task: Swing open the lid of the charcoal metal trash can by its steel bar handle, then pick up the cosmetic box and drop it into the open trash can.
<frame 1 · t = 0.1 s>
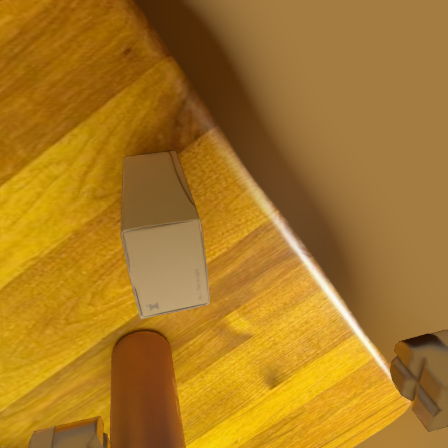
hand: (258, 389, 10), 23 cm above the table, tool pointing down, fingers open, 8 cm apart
beverage can: (141, 347, 40), on the table
cosmetic box: (153, 185, 32), on the table
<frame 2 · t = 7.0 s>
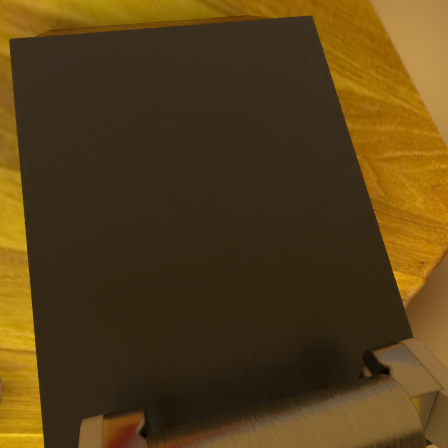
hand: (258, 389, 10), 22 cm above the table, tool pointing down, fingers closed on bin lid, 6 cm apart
bin lid: (218, 209, 12), point 18 cm above the table, hinge at 45.1°, touching gripper
trash can: (169, 147, 29), on the table
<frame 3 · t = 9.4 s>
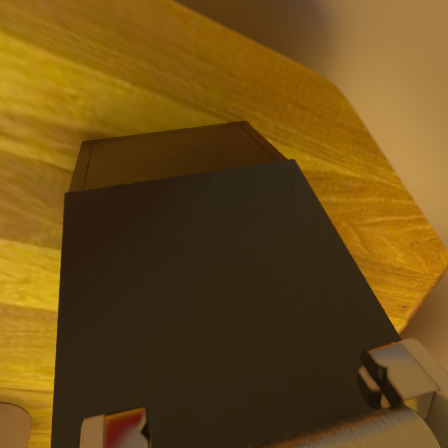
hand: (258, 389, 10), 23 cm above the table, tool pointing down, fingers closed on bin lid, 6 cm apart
bin lid: (223, 286, 14), point 19 cm above the table, hinge at 72.8°, touching gripper
trash can: (179, 224, 34), on the table
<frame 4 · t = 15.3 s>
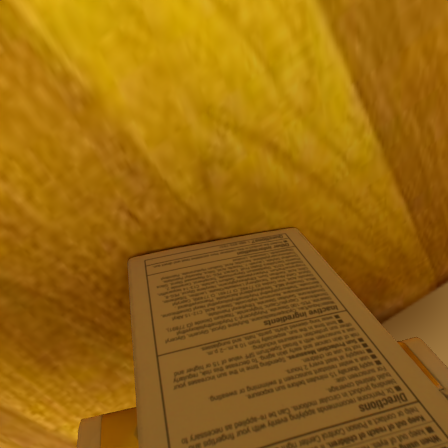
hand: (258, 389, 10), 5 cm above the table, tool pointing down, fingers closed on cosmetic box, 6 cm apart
cosmetic box: (221, 281, 14), on the table, touching gripper
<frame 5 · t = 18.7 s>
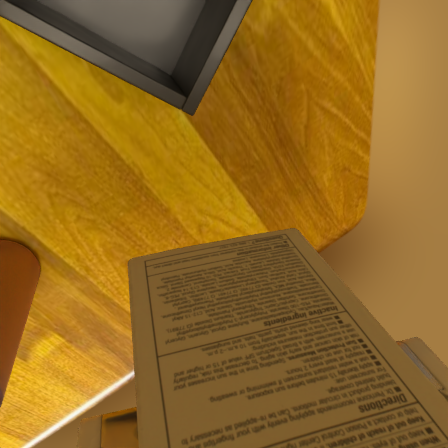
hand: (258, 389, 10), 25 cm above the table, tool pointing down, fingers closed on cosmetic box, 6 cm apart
beverage can: (5, 263, 34), on the table
cosmetic box: (221, 281, 14), point 21 cm above the table, touching gripper
when the fingers open (17 cm above the table, at t = 22.4 s): cosmetic box drops 11 cm, resting on trash can.
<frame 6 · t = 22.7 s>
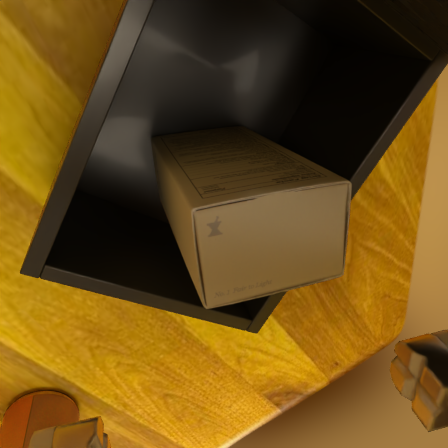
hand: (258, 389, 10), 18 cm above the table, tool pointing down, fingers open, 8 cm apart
beverage can: (44, 408, 34), on the table
cosmetic box: (202, 160, 25), point 1 cm above the table, touching trash can
trash can: (197, 112, 24), on the table
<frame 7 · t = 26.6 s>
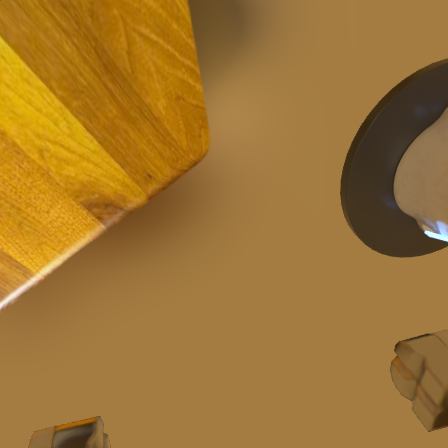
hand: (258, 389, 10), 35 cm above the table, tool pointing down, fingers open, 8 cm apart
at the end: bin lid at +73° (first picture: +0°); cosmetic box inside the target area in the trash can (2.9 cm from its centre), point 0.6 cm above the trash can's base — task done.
